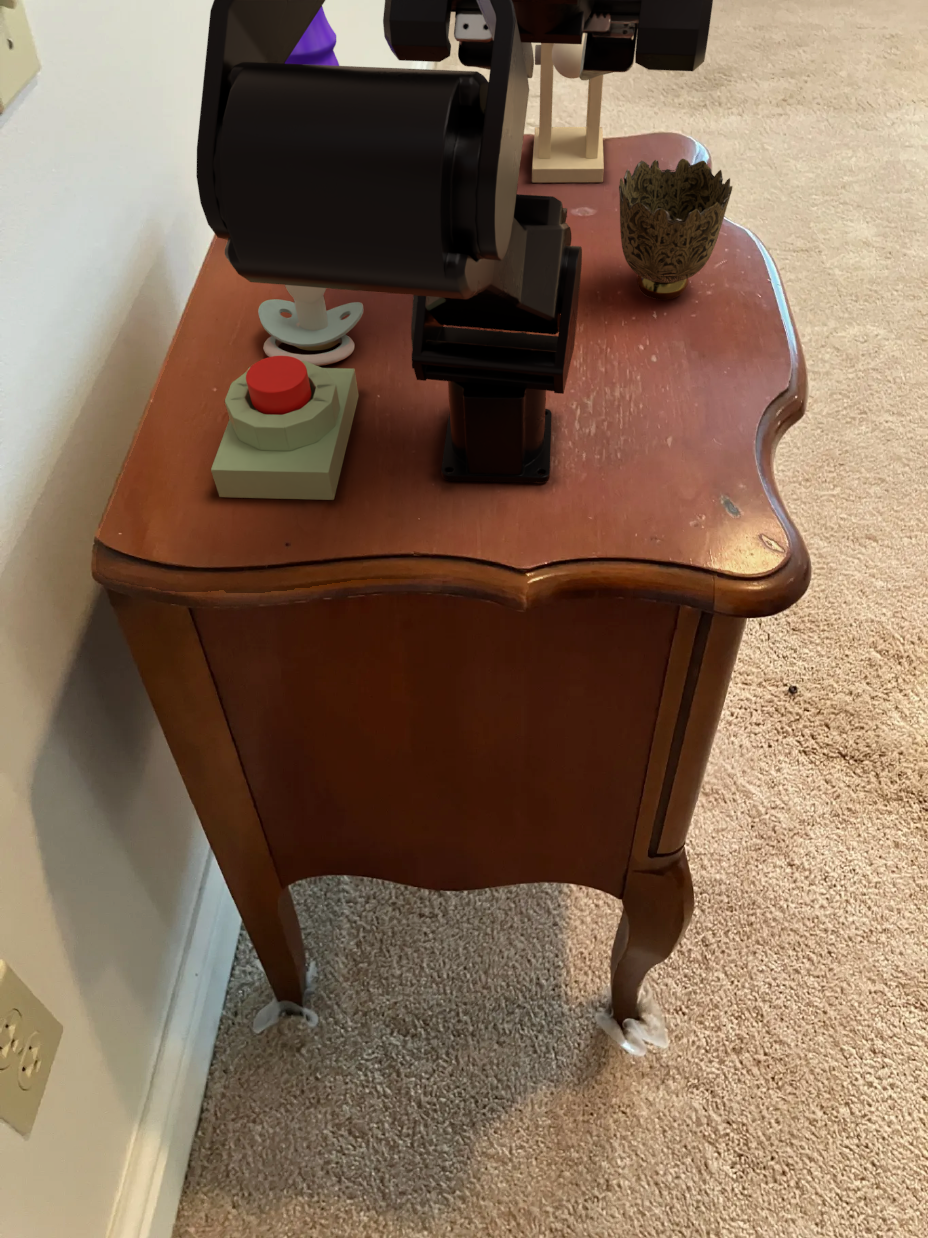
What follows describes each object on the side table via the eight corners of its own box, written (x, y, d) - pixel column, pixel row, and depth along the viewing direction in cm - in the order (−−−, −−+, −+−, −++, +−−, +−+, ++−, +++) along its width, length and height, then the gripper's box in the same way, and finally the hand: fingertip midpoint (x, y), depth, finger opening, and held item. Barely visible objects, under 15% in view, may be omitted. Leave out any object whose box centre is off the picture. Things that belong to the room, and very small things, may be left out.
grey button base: (334, 500, 56) (323, 448, 53) (219, 497, 57) (202, 445, 54) (358, 395, 62) (350, 343, 59) (255, 394, 63) (242, 342, 60)
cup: (709, 263, 71) (728, 156, 65) (716, 319, 66) (737, 209, 60) (610, 262, 72) (619, 155, 65) (609, 317, 67) (619, 208, 61)
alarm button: (305, 416, 55) (300, 392, 54) (245, 415, 56) (239, 391, 54) (316, 379, 58) (311, 355, 56) (258, 378, 58) (252, 354, 57)
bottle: (297, 194, 81) (254, -47, 67) (363, 192, 80) (333, -49, 67) (283, 237, 76) (234, -11, 62) (353, 236, 76) (319, -14, 62)
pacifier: (354, 375, 64) (371, 322, 68) (341, 294, 59) (360, 241, 63) (251, 370, 65) (273, 318, 68) (229, 289, 60) (254, 238, 64)
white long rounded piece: (594, 78, 69) (597, 27, 68) (550, 78, 69) (552, 27, 68) (590, 76, 78) (592, 30, 76) (551, 76, 78) (553, 31, 76)
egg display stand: (602, 182, 80) (612, 48, 72) (531, 182, 80) (533, 49, 72) (601, 139, 85) (610, 10, 77) (534, 140, 85) (537, 11, 77)
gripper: (749, -257, 45) (718, -56, 60) (373, -251, 48) (434, -61, 63) (716, -10, 46) (693, 125, 61) (351, -19, 49) (416, 113, 64)
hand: (557, 70), depth 63 cm, fingers open, 3 cm apart
